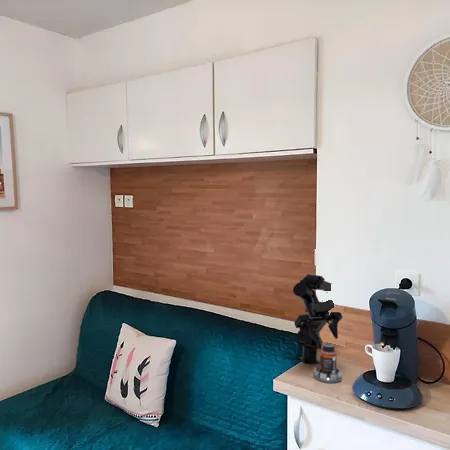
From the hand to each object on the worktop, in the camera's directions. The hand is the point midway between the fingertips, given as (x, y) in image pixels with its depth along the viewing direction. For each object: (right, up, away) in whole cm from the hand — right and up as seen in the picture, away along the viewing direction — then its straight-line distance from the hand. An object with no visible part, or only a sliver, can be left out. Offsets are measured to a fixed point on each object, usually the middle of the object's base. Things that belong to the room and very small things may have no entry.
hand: (326, 339), depth 170 cm
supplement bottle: (0, -13, -1) cm, 13 cm away
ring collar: (0, -14, -2) cm, 14 cm away
